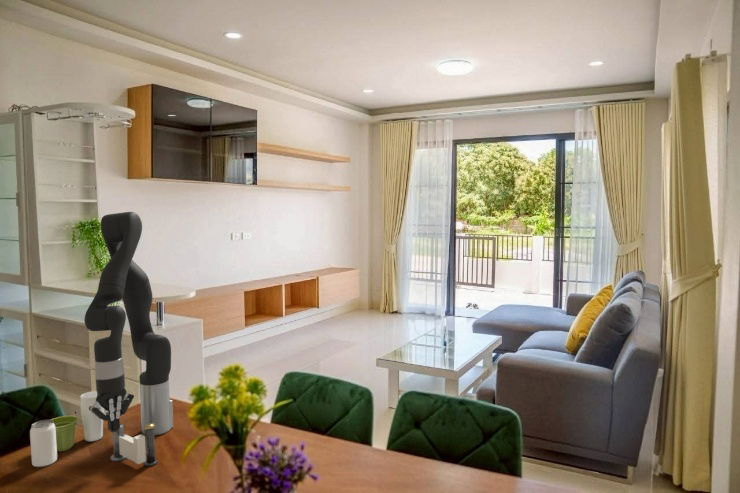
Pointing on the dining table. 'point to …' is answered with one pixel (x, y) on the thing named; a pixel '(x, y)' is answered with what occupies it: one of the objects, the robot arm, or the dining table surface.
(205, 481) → the dining table surface
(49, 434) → the can
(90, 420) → the white tapered cup
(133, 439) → the gate
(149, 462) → the post
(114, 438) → the hinge post
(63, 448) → the plant pot
